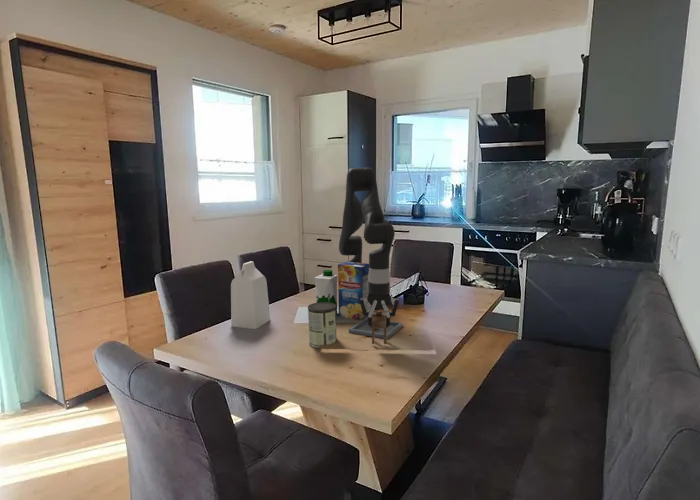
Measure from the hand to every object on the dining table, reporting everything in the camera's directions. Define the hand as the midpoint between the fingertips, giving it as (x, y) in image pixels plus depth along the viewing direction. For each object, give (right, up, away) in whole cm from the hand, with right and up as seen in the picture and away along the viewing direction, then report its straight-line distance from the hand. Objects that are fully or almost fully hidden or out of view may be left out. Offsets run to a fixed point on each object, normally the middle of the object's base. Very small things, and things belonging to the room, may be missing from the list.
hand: (379, 326), depth 150 cm
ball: (0, -2, +15) cm, 15 cm away
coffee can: (-20, -7, +5) cm, 22 cm away
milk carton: (-21, -2, +36) cm, 42 cm away
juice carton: (-8, -3, +32) cm, 33 cm away
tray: (0, -5, +16) cm, 16 cm away
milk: (-52, -4, +28) cm, 59 cm away
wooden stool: (0, -5, +1) cm, 5 cm away
